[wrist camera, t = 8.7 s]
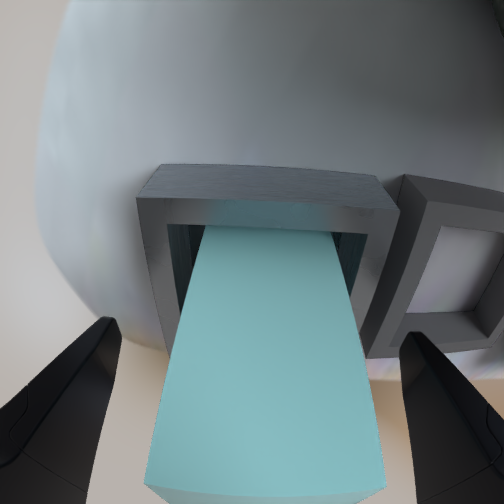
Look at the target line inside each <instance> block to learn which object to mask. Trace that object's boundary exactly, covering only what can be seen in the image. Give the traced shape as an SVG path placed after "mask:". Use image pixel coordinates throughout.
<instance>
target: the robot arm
mask: <svg viewBox="0 0 504 504" xmlns="http://www.w3.org/2000/svg"><path fill="white" fill-rule="evenodd" d="M121 342H122V335H121V332H120V330H119V327H118V324H117V322H116V320H115V319H114V318H113V317H105V316H103V317H101V318H100V319H99V320H97V321H96V322H95V323H94V324H93V325H92V326H91V327H89V328H88V329H87V330H86V331H85V332H84V333H83V334H82V335H80V336H79V337H78V338H77V339H76V340H75V341H74V342H73V343H72V344H70V345H69V346H68V347H67V348H66V349H65V350H64V351H63V352H62V353H61V354H59V355H58V356H57V357H56V358H55V359H54V360H53V361H52V362H51V363H50V364H48V365H47V366H46V367H45V368H44V369H43V370H42V371H41V372H40V373H39V374H38V375H37V376H36V377H35V378H34V379H32V380H31V381H30V382H29V383H28V385H26V386H25V387H24V388H23V389H22V390H21V391H20V392H19V393H18V394H17V395H15V396H14V397H13V398H12V399H11V400H10V401H9V402H8V403H6V404H5V405H4V406H3V407H2V408H0V504H86V499H87V492H88V487H89V483H90V478H91V473H92V468H93V464H94V459H95V455H96V450H97V446H98V442H99V438H100V433H101V430H102V426H103V422H104V418H105V415H106V411H107V407H108V403H109V400H110V396H111V393H112V389H113V385H114V381H115V375H116V369H117V364H118V358H119V353H120V348H121ZM399 360H400V370H401V381H402V391H403V392H402V393H403V400H404V405H405V411H406V417H407V423H408V429H409V436H410V443H411V450H412V458H413V467H414V476H415V485H416V497H417V503H418V504H504V420H503V418H502V417H501V416H500V415H499V414H498V413H497V412H496V411H495V410H494V408H493V407H492V406H491V405H490V404H489V403H488V402H487V401H486V399H484V397H483V396H482V395H481V394H480V393H479V392H478V391H477V390H476V389H475V387H474V386H473V385H472V384H471V383H470V382H469V381H468V380H467V378H466V377H465V376H464V375H463V374H462V373H461V372H460V371H459V370H458V369H457V368H456V367H455V365H454V364H453V363H452V362H451V361H450V360H449V359H448V358H447V357H446V356H445V355H444V354H443V353H442V352H441V351H440V350H439V349H438V348H437V347H436V346H435V344H434V343H433V342H432V341H431V340H430V339H429V338H428V337H427V336H426V335H425V334H424V333H423V332H421V331H409V332H408V333H407V335H406V337H405V339H404V340H403V342H402V344H401V346H400V349H399Z"/></svg>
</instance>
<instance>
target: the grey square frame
mask: <svg viewBox="0 0 504 504" xmlns="http://www.w3.org/2000/svg"><path fill="white" fill-rule="evenodd" d="M397 207H398V209H399V210H400V215H399V218H398V222H397V225H396V229H395V232H394V235H393V239H392V242H391V245H390V248H389V252H388V255H387V258H386V261H385V264H384V267H383V270H382V273H381V276H380V279H379V281H378V284H377V287H376V290H375V293H374V295H373V298H372V301H371V304H370V306H369V309H368V312H367V314H366V317H365V319H364V322H363V324H362V327H361V329H360V336H361V340H362V344H363V349H364V353H365V357H366V359H375V358H394V357H399V349H400V346H401V344H402V342H403V340H404V339H405V337H406V335H407V333H408V332H409V331H421V332H423V333H424V334H425V335H426V336H427V337H428V338H429V339H430V340H431V341H432V342H433V343H434V344H435V346H436V347H437V348H438V349H439V350H440V351H441V352H442V353H452V352H461V351H469V350H477V349H484V348H491V347H492V345H493V344H494V343H495V341H496V340H497V338H498V337H499V336H500V334H501V333H502V331H503V330H504V255H503V257H502V259H501V261H500V263H499V265H498V267H497V269H496V271H495V273H494V275H493V277H492V279H491V281H490V283H489V285H488V287H487V289H486V290H485V292H484V294H483V296H482V298H481V299H480V301H479V303H478V305H477V306H476V308H475V310H474V311H465V312H441V313H405V312H406V310H407V308H408V306H409V304H410V302H411V300H412V297H413V295H414V293H415V291H416V288H417V286H418V284H419V281H420V279H421V277H422V274H423V272H424V270H425V267H426V265H427V262H428V260H429V257H430V255H431V252H432V249H433V247H434V244H435V241H436V239H437V236H438V233H439V230H440V228H441V226H448V227H457V228H466V229H475V230H483V231H491V232H499V233H504V193H502V192H498V191H493V190H489V189H484V188H479V187H475V186H470V185H464V184H459V183H454V182H448V181H443V180H437V179H431V178H425V177H419V176H412V175H406V174H404V178H403V182H402V187H401V191H400V195H399V199H398V202H397Z"/></svg>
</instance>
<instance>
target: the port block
mask: <svg viewBox="0 0 504 504" xmlns="http://www.w3.org/2000/svg"><path fill="white" fill-rule="evenodd" d="M136 201H137V208H138V214H139V220H140V226H141V232H142V238H143V243H144V249H145V254H146V259H147V264H148V269H149V274H150V279H151V284H152V288H153V293H154V297H155V302H156V306H157V310H158V315H159V319H160V323H161V327H162V331H163V335H164V339H165V343H166V347H167V350H168V354H169V358H170V357H171V353H172V349H173V345H174V341H175V337H176V333H177V329H178V325H179V321H180V317H181V313H182V309H183V306H184V302H185V298H186V294H187V291H188V287H189V283H190V280H191V276H192V272H193V269H192V259H191V248H190V237H189V225H188V224H190V225H215V226H238V227H259V228H279V229H297V230H315V231H331V232H342V233H341V238H340V243H339V247H338V252H337V255H338V258H339V262H340V265H341V269H342V273H343V276H344V280H345V284H346V287H347V291H348V295H349V299H350V302H351V306H352V310H353V314H354V318H355V322H356V326H357V330H358V334H359V332H360V329H361V327H362V324H363V322H364V319H365V317H366V314H367V312H368V309H369V306H370V304H371V301H372V298H373V295H374V293H375V290H376V287H377V284H378V281H379V279H380V276H381V273H382V270H383V267H384V264H385V261H386V258H387V255H388V252H389V248H390V245H391V242H392V239H393V235H394V232H395V229H396V225H397V222H398V218H399V215H400V210H399V209H398V207H397V206H396V204H395V203H394V201H393V200H392V198H391V197H390V196H389V194H388V193H387V191H386V190H385V189H384V187H383V186H382V185H381V183H380V182H379V180H378V179H377V178H376V176H372V175H363V174H354V173H345V172H334V171H323V170H311V169H298V168H283V167H266V166H243V165H208V164H161V165H160V167H159V168H158V169H157V171H156V172H155V173H154V174H153V176H152V177H151V178H150V180H149V181H148V182H147V183H146V185H145V186H144V187H143V189H142V190H141V191H140V193H139V194H138V195H137V197H136Z"/></svg>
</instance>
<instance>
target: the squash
mask: <svg viewBox="0 0 504 504" xmlns="http://www.w3.org/2000/svg"><path fill="white" fill-rule="evenodd" d="M492 4H493V8H494V13H495V17H496V20H497V23H498V26H499V28H500V31H501V34H502V36H503V38H504V0H492Z"/></svg>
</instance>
